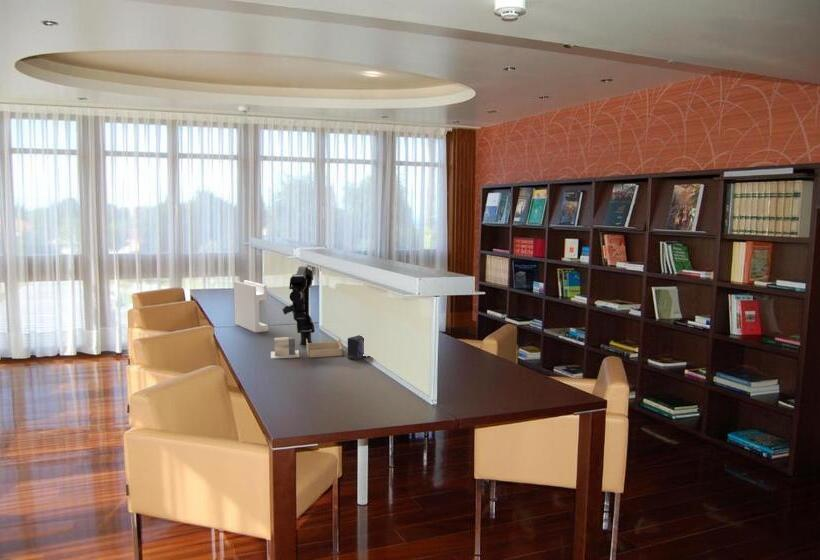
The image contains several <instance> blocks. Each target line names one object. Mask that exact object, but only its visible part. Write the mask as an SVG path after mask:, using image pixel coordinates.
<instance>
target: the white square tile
mask: <svg viewBox="0 0 820 560" xmlns="http://www.w3.org/2000/svg"><path fill="white" fill-rule="evenodd" d="M292 358H300V352H299V349H297V350H296V349H295V354H294V355H276V356H275V350H274V351H270V359H271V360H274V359H276V360H277V359H292Z"/></svg>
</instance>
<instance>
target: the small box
mask: <svg viewBox="0 0 820 560" xmlns="http://www.w3.org/2000/svg"><path fill="white" fill-rule="evenodd" d="M360 335H361V334H359V335H355V336H351V337H347V359H349V360H354V361H358V360H362V359H365V358H367V357H366V356H363V354H364V338H363V337H362V336H360Z"/></svg>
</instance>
